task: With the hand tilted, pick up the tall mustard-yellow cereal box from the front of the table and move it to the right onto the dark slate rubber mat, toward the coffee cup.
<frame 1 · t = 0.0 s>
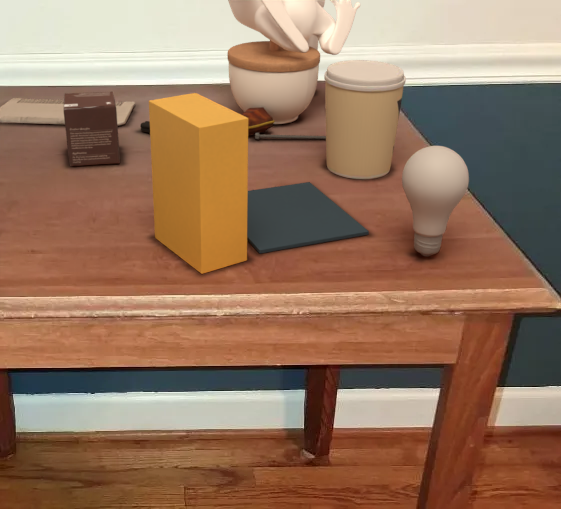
cup: (294, 92, 130), on the table, touching hand
lidded bowl: (272, 117, 119), on the table, touching hand
toy gun: (230, 113, 115), point 1 cm above the table
slate mat: (286, 216, 89), on the table
coffee cup: (358, 169, 102), on the table
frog: (280, 72, 116), point 6 cm above the table, touching cup, lidded bowl
cereal box: (199, 248, 82), on the table
grooming comb: (73, 93, 121), point 1 cm above the table
box: (94, 159, 103), on the table
lightbulb: (425, 256, 82), on the table
screw: (293, 131, 110), point 1 cm above the table
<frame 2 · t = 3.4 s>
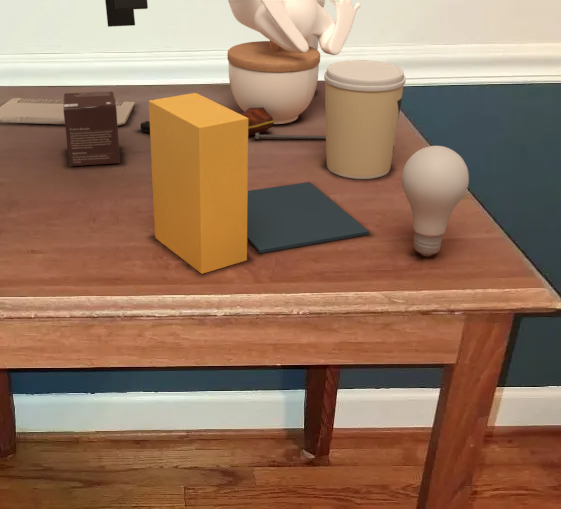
hand: (126, 18, 80), 20 cm above the table, tool tilted 20°, fingers open, 13 cm apart
nothing on the table moved.
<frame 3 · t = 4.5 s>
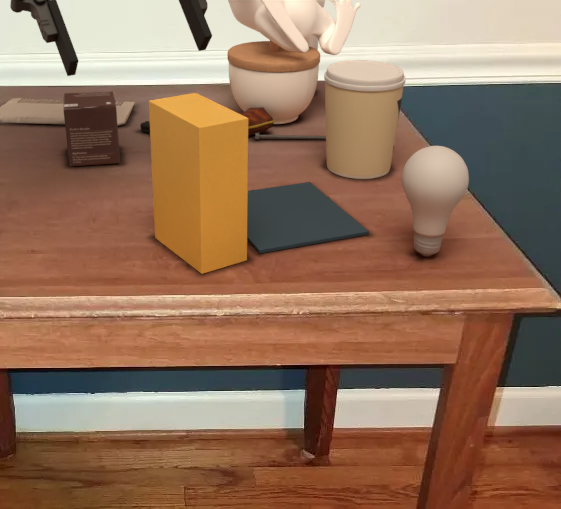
hand: (141, 56, 81), 17 cm above the table, tool tilted 45°, fingers open, 13 cm apart
nothing on the table moved.
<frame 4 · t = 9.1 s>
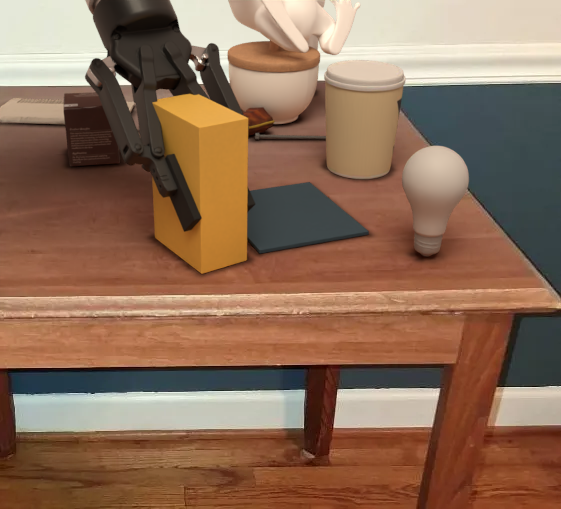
hand: (220, 217, 77), 5 cm above the table, tool tilted 45°, fingers closed on cereal box, 5 cm apart
cereal box: (199, 248, 82), on the table, touching gripper
everything else where it was.
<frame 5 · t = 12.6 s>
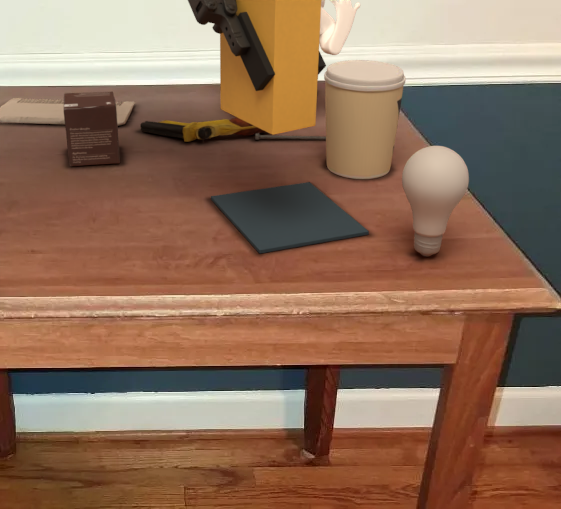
hand: (291, 77, 77), 16 cm above the table, tool tilted 45°, fingers closed on cereal box, 5 cm apart
cereal box: (266, 117, 82), point 11 cm above the table, touching gripper
everything else where it was.
when the fingers open (5 cm above the table, at t = 16.2 s): cereal box stays where it is, resting on slate mat.
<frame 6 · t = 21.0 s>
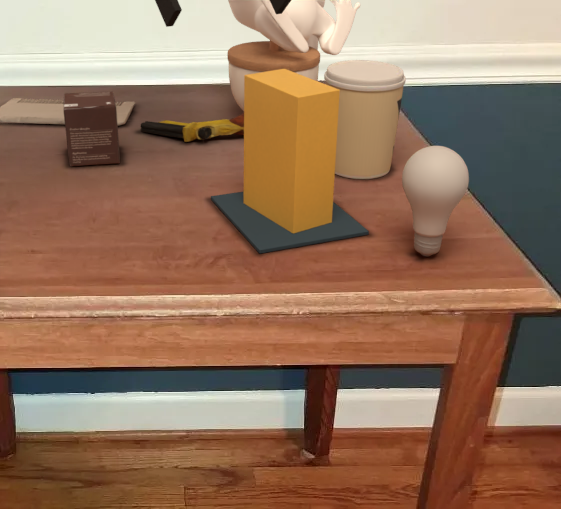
hand: (231, 12, 88), 19 cm above the table, tool tilted 45°, fingers open, 13 cm apart
cereal box: (286, 212, 89), resting on slate mat
everything else where it was.
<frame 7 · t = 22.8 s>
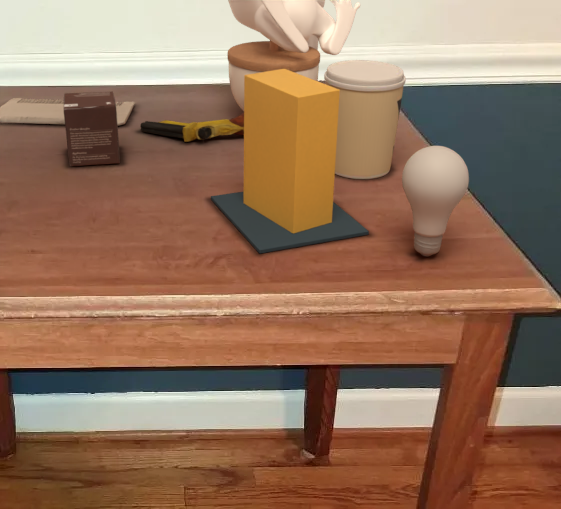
nothing on the table moved.
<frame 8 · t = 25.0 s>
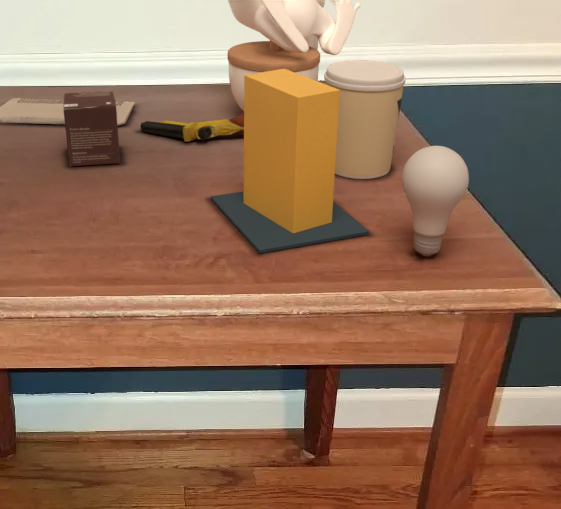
nothing on the table moved.
at the end: cereal box inside the target area on the slate mat (0.0 cm from its centre), point 0.4 cm above the slate mat's base; cereal box 17.2 cm from the coffee cup (horizontally); cereal box tilted 0° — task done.
